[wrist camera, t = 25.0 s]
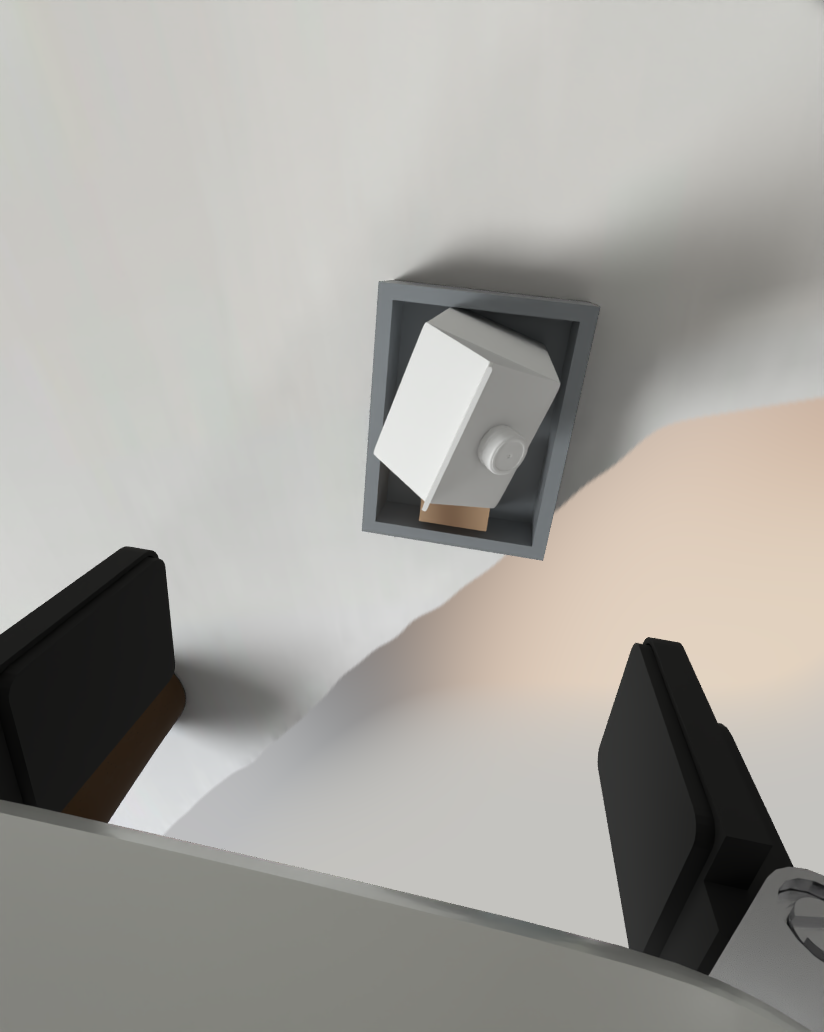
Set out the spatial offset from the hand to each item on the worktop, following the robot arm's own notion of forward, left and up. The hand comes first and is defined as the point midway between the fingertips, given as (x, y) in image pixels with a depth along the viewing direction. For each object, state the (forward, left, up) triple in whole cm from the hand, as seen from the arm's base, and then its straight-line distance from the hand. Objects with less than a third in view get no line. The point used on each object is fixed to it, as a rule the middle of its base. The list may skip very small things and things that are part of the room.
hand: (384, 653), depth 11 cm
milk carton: (0, 0, -34) cm, 34 cm away
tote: (0, +3, -34) cm, 34 cm away
